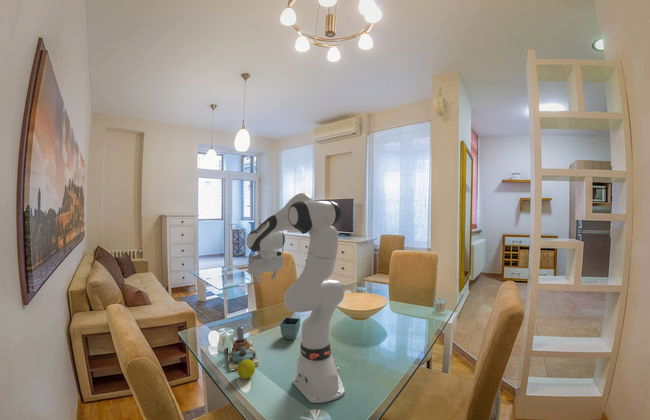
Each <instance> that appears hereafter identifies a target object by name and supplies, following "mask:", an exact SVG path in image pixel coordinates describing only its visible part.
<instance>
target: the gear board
mask: <svg viewBox="0 0 650 420" xmlns="http://www.w3.org/2000/svg"><path fill="white" fill-rule="evenodd" d="M232 344H233V348H232V352H231V353H228V355H227V362H228V361H229V363H228V367H229V368H228V370H229V369H230V370H231V369H237V367H238V364H239V363H240V362H241V361H242V360H245V359H250V360H252V361H253V362H254V364H255V367H258V366H259V360H258V357H257V354H256V350H255V346H254V344H253V341H252V340H249V341H248V339H247V338H244V337H243V343H237V338H236V339H234V340H233V343H232Z"/></svg>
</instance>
